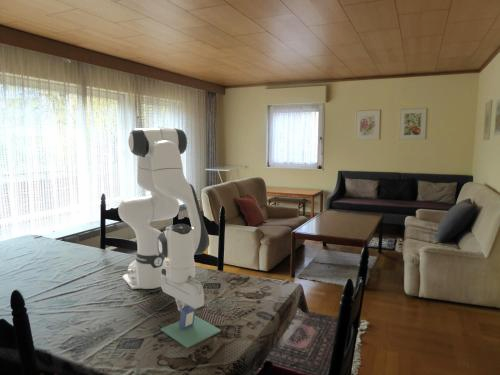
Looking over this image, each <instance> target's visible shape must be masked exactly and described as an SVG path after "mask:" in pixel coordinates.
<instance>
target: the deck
mask: <svg viewBox="0 0 500 375" xmlns="http://www.w3.org/2000/svg"><path fill="white" fill-rule="evenodd" d="M179 314H180V315H179V321H180V322H179V327H180V328H181V329H182V330H185V329H187V328H190V327H192V326H193V324H194V316H196V309H195V308H193V307H191V306H189V305H188V306H187V307H184V308H182V309H181V312H180V313H179Z"/></svg>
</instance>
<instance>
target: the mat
mask: <svg viewBox="0 0 500 375" xmlns="http://www.w3.org/2000/svg"><path fill="white" fill-rule="evenodd" d="M179 322H180V320H178V321H176V322H174V323H171V324H169V325H166V326H164V327H162V328H160V329H159V330H160V331H161V332H163V333H164V334H166V335H167V336H168V337H170V338H172V339H173V340H175V341H176V342H178V343H179V344H180V345H181V346H183V347H185V348H186V349H189V348H191V347H193V346H195V345H197V344H198V343H201V342H203V341H205V340H206V339H209V338H211V337H213V336H215V335H217V334H219V333H220V332H222V330H221V329H220V328H218V327H217V326H215V325H213V324H211V323H210V322H208V321H206V320H204V319H202V318H200V317H198V316H197V315H195V316H194V324H193V326H192V327H190V328H187V329H185V330H182V329H181V328H180V327H179Z"/></svg>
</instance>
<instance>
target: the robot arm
mask: <svg viewBox="0 0 500 375" xmlns="http://www.w3.org/2000/svg"><path fill="white" fill-rule="evenodd" d="M127 143H128V147H129V149H130V153H132V154H133V155H134V156H137V157H138V159H137V176H136V179H137V185H138V186H139V187H141V188H142V189H144V190H145V191H148V192H150V194H149V195H147V196H146V195H145V196H133V197H129V198H125V199H122V200H121V201H120V203H119V205H118V209H117V212H118V216H119V218H120V219H121V221H122V222H124V223H126V224H127V225H128V226H129V227H130V228H131V229H132V230H133V232H134V234H135V237H136V244H137V251H135V252H134V254H135V260H134V261H132V262H131V263H130V264H129V265H128V267H127V268H128V269H126V270H127V271H126V272H127V273H125V274H123V275H122V279H123V281H124V282H125V283H126V284H127V285H128V286H129V287H130V289H132V290H136V289H144V290H145V289H147V290H149V289H157V288H161V290H162V292H163V293H165V294H167V295H168V296H171V297H173V298H174V299H175V304H176V306H177V311H179V312H180V313H181V309H182V308H184V307H187V306H191V307H193V308H195V310H197V309H199V308H201V307H203V306H204V305H205V295H204V294H205V293H204V287H203V285H202V283H201V282H200V280H199V279H197V278H195V277H196V263H195V259H194V258H195V257H194V256H195V255H202V254H204V253H205V252H206V251H207V249H208V248H209V247H210V236H209V232H208V230H207V228H206V225H205V222H204V219H203V218H204V217H203V214H202V210H201V207H200V203H199V199H198V195H197V193H196V190H195V187H194V185H192V184H191V183H189V182H188V181H187V178H186V177H185V174H184V169H183V161H182V156H181V155H182V154H184V153H185V152H186V150H187V146H188V138H187V134H186V133H185V131H184V130H182V129H179V128H175V127H174V128H171V127H159V126H158V127H147V128H142V127H139V128H138V127H137V128H133V129H131V132H129V136H128V141H127ZM180 201H181V202H182V203H183V204H184V205H185V207H186V210H187V214H188V218H189V222H190V225H191V226H190V225H189V224H185V223H177V224H173V225H172V226H170V227H169V229H167V230H163V231H162V232H161V230H159V229H157V228H154V227H152V226H151V225H150V222H157V221H166V220H169V219H170V220H171V219H173V218H175V217H177V215H178V214H179V211H180V203H179V202H180ZM165 258H167V259H169V260H168V263H167V260H166V259H165Z"/></svg>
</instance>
